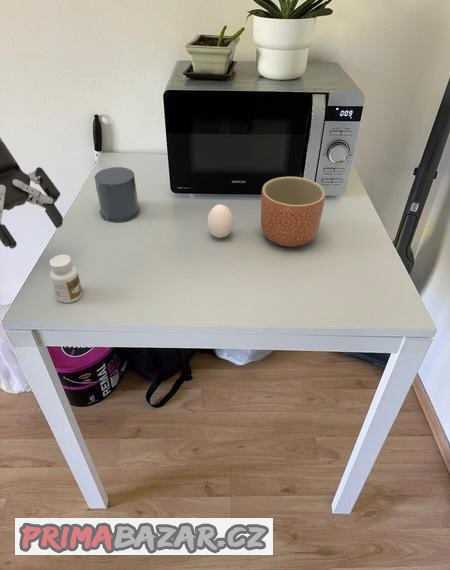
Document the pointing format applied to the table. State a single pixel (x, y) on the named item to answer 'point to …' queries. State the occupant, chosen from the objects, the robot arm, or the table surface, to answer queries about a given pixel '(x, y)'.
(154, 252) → the table surface
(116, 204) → the cup
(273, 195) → the planter
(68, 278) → the pill bottle
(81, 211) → the table surface
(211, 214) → the egg
